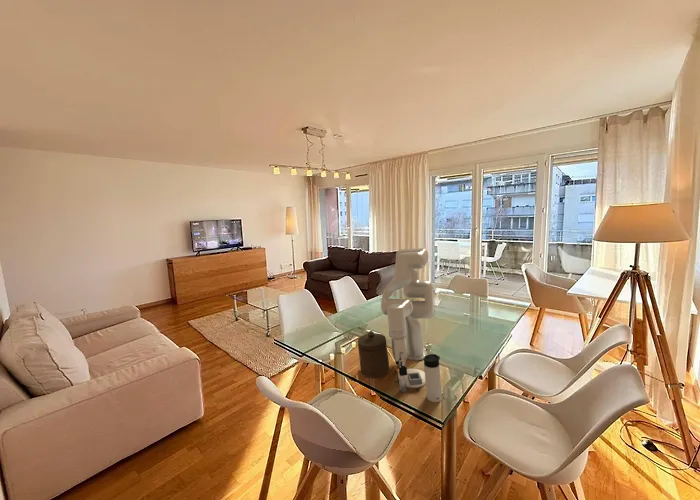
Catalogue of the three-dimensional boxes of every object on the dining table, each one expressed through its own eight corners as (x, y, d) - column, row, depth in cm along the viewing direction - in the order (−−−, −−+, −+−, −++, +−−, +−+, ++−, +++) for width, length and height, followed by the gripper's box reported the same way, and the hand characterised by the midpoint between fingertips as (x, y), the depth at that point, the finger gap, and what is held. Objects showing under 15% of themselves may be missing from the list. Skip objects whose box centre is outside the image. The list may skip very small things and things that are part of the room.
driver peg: (399, 388, 129) (396, 366, 127) (406, 387, 129) (403, 365, 127) (400, 393, 126) (397, 371, 124) (408, 392, 126) (405, 370, 124)
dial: (397, 373, 141) (396, 365, 140) (422, 370, 141) (422, 362, 140) (402, 389, 128) (401, 381, 127) (430, 386, 128) (430, 378, 127)
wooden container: (371, 361, 157) (367, 324, 154) (395, 368, 147) (391, 329, 144) (355, 375, 146) (350, 335, 143) (379, 384, 136) (374, 341, 133)
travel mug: (442, 406, 117) (439, 361, 114) (426, 403, 119) (422, 359, 116) (443, 396, 122) (440, 353, 120) (427, 394, 125) (424, 352, 122)
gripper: (386, 325, 132) (389, 360, 134) (392, 341, 115) (396, 381, 117) (402, 324, 132) (405, 358, 134) (410, 339, 115) (414, 379, 117)
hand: (401, 369), depth 125 cm, fingers open, 9 cm apart
